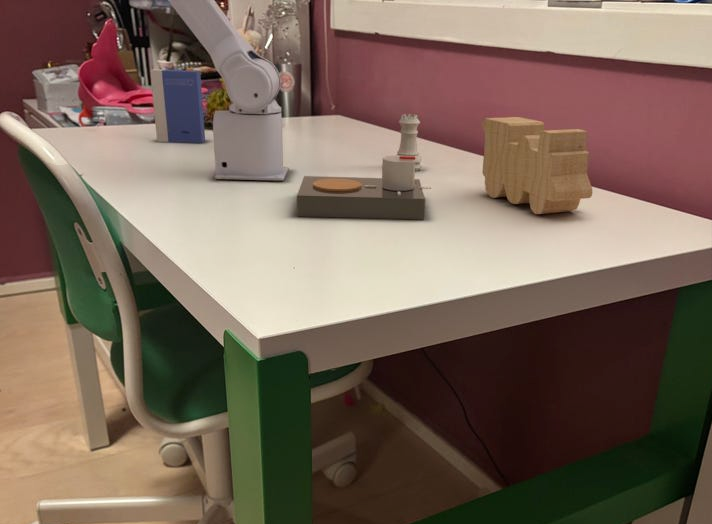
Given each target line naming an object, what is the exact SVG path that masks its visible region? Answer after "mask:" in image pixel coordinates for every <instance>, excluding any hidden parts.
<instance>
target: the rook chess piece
mask: <svg viewBox="0 0 712 524" xmlns="http://www.w3.org/2000/svg"><path fill="white" fill-rule="evenodd" d="M412 115H413V116H412ZM398 123H399V125H400V126H401V129H400V131H399V134H400V142H399V148H398V151H397V154H396V155H395V156H415V172H418V171H420V170H421V169H422V167H423V166H422V164H420V163H422V160H423V159H422V157H421V156H420V152H419V149H418V142H417V140H418V134H419V131H418V126H419V125H420V124H421V121H420V120H419V115H417V114H411V113H408V114H407V113H404V114H401V118H400V119H399V120H398Z"/></svg>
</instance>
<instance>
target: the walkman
mask: <svg viewBox="0 0 712 524" xmlns="http://www.w3.org/2000/svg"><path fill="white" fill-rule="evenodd" d="M149 74H150V81H151V85H150V86H151V93H152V104H153V114H154V123H155V124H154V125H155V134H156V142H161V143H187V144H188V143H195V144H202V143H204V142H205V141H206V132H205V131H206V130H205V125H204V118H205V117H204V107H203V106H204V105H203V92H202V91H203V89H202V78H201V70H195V68H194V67H193V68H191V67H187V68H185V69H161V68H154V69H150V70H149Z"/></svg>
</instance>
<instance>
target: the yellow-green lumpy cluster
mask: <svg viewBox="0 0 712 524" xmlns="http://www.w3.org/2000/svg"><path fill="white" fill-rule="evenodd" d="M218 81H219V82H220V83H221V87H219V88H216V89H214V90H213V91H211V92H210V91H209V90H208V91H207V92H210V93H209V95H206V97H207V98H206V101H204V103H206V112H207V113H206V114H207V115H208V116H205V117H204V126H205V125H206V126H208V127H213V118H214V114H215V112H216V111H229V105H230V104H233V102H232V103H231V100H230V98H229V96H228V94H227V93H226V91H225V90H224V88H223V85H222V82H223V78H222V77H219V79H218Z"/></svg>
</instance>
